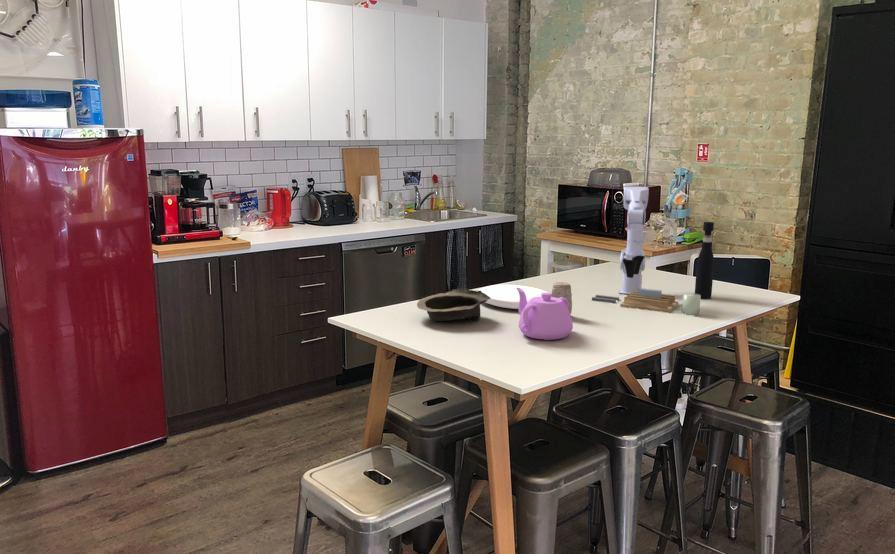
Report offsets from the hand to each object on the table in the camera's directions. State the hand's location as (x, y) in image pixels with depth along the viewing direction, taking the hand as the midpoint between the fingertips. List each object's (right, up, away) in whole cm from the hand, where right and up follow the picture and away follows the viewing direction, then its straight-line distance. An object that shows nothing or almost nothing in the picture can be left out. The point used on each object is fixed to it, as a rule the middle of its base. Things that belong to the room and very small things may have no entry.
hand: (632, 275), depth 278 cm
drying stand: (-10, -9, +3) cm, 14 cm away
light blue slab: (+5, -10, -5) cm, 13 cm away
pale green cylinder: (+17, -14, -17) cm, 27 cm away
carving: (-31, -15, -23) cm, 41 cm away
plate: (-46, -11, -4) cm, 48 cm away
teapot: (-42, -19, -45) cm, 64 cm away
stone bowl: (-70, -16, -28) cm, 77 cm away
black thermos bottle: (+30, -9, +9) cm, 33 cm away
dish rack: (+5, -11, -5) cm, 13 cm away
